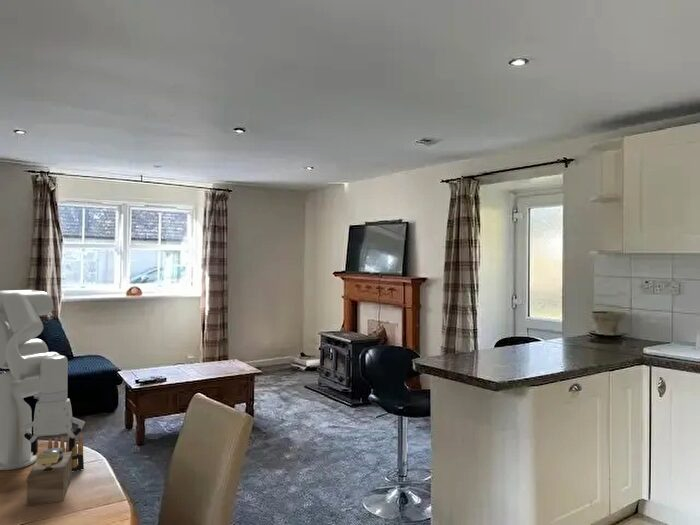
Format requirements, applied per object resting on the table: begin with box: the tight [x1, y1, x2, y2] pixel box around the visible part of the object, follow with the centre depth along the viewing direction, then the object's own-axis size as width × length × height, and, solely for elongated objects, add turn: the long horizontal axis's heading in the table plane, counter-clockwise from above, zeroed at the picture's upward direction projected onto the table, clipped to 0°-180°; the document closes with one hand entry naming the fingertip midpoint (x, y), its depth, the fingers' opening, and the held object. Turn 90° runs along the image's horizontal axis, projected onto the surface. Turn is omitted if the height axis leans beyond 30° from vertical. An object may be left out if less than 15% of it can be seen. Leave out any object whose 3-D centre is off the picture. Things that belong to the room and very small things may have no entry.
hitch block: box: [26, 451, 73, 507], centre depth 157 cm, size 18×9×8 cm, turn 21°
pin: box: [42, 447, 63, 461], centre depth 161 cm, size 5×5×10 cm
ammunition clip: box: [47, 432, 85, 472], centre depth 171 cm, size 11×2×12 cm, turn 125°
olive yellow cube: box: [36, 451, 59, 471], centre depth 153 cm, size 5×5×5 cm
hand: (53, 452), depth 161 cm, fingers open, 9 cm apart
